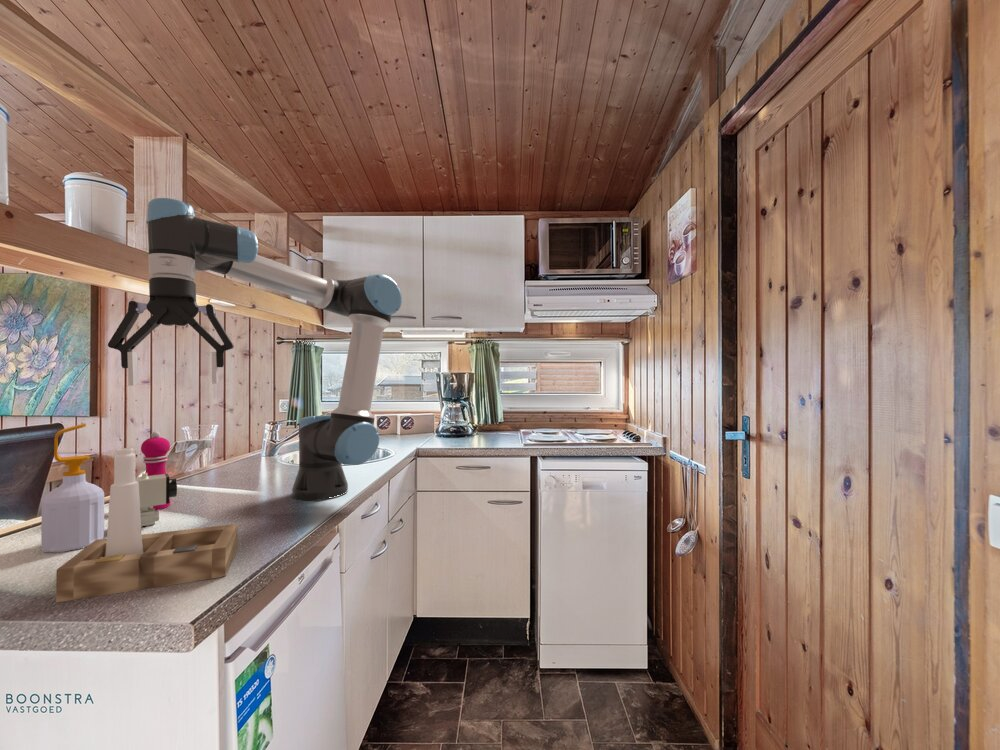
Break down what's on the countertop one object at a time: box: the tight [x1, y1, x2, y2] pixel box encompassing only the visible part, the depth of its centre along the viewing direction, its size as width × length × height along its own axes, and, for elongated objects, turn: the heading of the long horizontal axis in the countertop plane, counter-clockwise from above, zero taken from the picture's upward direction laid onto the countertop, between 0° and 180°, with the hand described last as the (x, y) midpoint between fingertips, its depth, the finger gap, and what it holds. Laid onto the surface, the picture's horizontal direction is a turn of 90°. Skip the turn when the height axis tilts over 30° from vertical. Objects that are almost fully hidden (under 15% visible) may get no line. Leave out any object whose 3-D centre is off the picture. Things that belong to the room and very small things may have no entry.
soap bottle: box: [40, 423, 105, 553], centre depth 88 cm, size 9×9×25 cm
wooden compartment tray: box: [55, 523, 239, 603], centre depth 76 cm, size 22×13×5 cm, turn 114°
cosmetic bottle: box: [105, 447, 143, 557], centre depth 74 cm, size 6×6×22 cm
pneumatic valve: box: [135, 472, 178, 528], centre depth 100 cm, size 6×12×12 cm, turn 131°
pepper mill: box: [140, 430, 171, 511], centre depth 113 cm, size 7×7×20 cm
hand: (175, 384), depth 87 cm, fingers open, 13 cm apart
